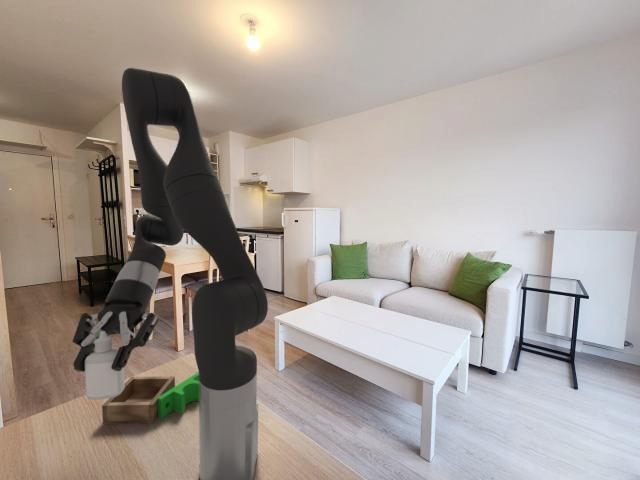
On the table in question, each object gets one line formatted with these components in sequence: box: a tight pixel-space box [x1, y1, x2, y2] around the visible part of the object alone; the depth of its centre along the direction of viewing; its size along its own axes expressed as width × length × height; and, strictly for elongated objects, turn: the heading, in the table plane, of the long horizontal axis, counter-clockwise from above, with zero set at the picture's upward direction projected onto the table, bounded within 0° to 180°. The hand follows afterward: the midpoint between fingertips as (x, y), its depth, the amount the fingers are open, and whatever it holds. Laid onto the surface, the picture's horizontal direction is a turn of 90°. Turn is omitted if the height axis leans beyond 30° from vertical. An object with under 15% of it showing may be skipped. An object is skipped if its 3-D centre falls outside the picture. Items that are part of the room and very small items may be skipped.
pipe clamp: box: [157, 371, 199, 419], centre depth 64 cm, size 11×4×5 cm, turn 156°
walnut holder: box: [101, 375, 176, 425], centre depth 62 cm, size 10×10×4 cm
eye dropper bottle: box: [84, 330, 126, 401], centre depth 51 cm, size 4×6×12 cm
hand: (97, 369), depth 49 cm, fingers closed on eye dropper bottle, 5 cm apart
